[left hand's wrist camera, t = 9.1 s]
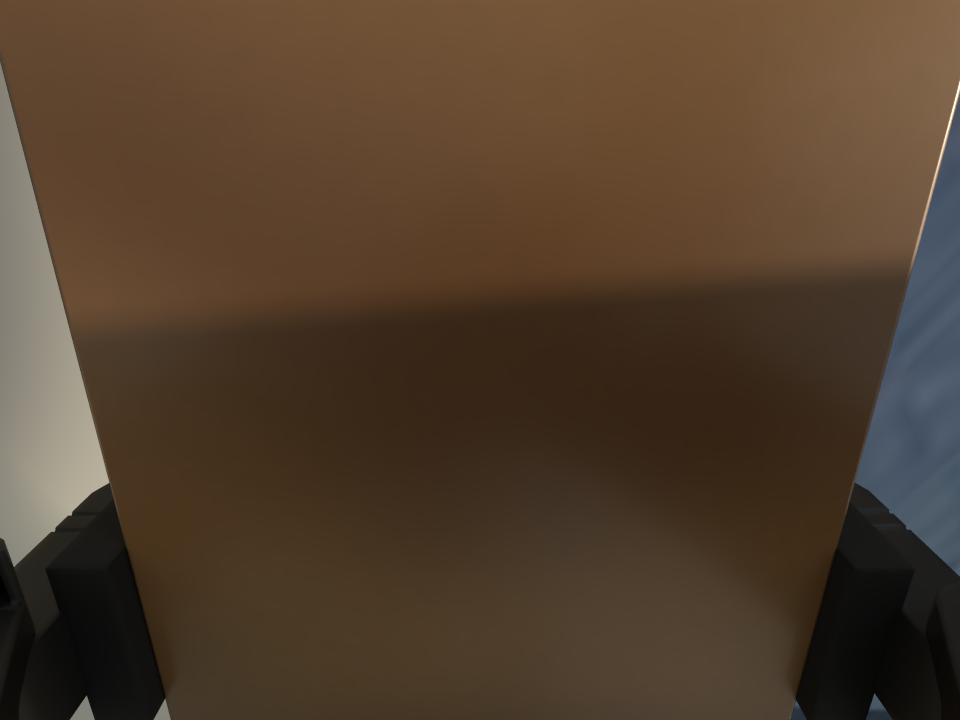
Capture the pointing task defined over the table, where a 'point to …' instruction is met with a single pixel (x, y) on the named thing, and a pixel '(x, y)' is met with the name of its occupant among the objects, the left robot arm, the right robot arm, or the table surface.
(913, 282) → the table surface
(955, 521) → the table surface
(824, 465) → the wooden beam
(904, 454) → the table surface
